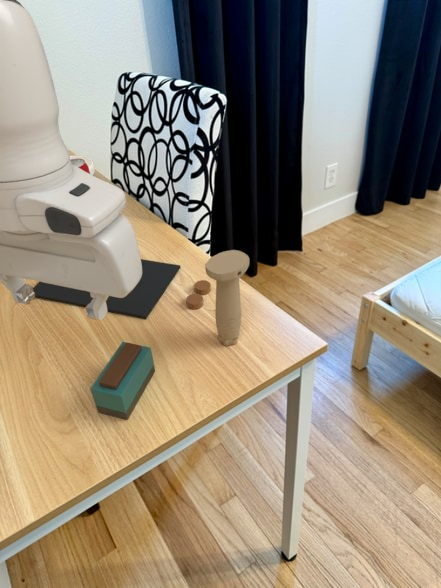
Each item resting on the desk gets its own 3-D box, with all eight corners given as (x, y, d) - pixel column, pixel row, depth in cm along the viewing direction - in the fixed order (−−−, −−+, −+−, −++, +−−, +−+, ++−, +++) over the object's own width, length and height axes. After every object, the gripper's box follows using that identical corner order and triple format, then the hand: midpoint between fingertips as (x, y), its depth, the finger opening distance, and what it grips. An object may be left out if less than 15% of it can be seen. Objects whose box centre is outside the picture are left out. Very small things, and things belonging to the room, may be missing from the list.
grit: (192, 294, 78) (192, 288, 78) (197, 284, 81) (196, 279, 80) (208, 296, 78) (208, 290, 77) (212, 286, 80) (212, 281, 79)
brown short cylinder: (183, 307, 75) (183, 302, 75) (190, 297, 78) (189, 292, 77) (199, 310, 74) (199, 305, 74) (205, 300, 77) (205, 295, 76)
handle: (253, 337, 69) (256, 259, 60) (224, 357, 66) (222, 278, 56) (233, 323, 72) (232, 246, 62) (203, 341, 68) (198, 263, 59)
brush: (97, 412, 58) (88, 384, 55) (128, 364, 65) (121, 337, 61) (127, 420, 57) (120, 392, 54) (155, 371, 64) (150, 343, 60)
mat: (27, 296, 79) (26, 293, 79) (75, 251, 91) (74, 248, 91) (146, 319, 73) (145, 316, 73) (180, 267, 85) (180, 265, 85)
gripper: (-88, 193, 40) (-35, 307, 49) (106, 224, 35) (128, 345, 44) (-37, 169, 45) (3, 277, 53) (140, 193, 40) (154, 308, 48)
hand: (61, 308), depth 48 cm, fingers open, 8 cm apart
